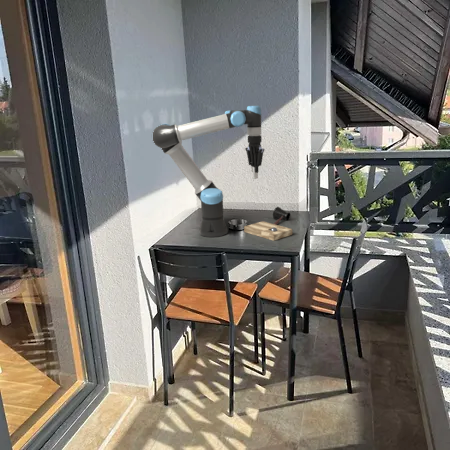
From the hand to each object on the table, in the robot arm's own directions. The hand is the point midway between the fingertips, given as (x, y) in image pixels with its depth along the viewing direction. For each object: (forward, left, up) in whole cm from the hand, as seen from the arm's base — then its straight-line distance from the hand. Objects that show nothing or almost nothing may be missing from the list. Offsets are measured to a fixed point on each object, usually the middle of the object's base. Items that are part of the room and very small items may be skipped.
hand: (255, 178), depth 244 cm
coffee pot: (+12, -5, -27) cm, 30 cm away
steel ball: (-8, -22, -24) cm, 34 cm away
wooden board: (-8, -18, -26) cm, 33 cm away
